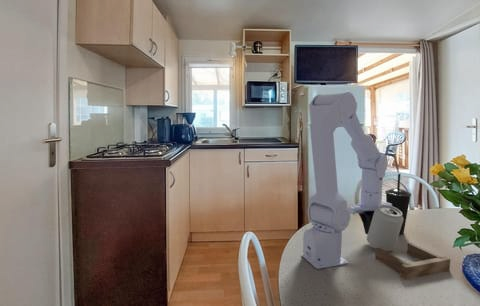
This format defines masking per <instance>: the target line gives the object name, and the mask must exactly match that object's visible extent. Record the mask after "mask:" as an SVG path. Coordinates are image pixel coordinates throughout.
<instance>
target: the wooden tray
mask: <svg viewBox="0 0 480 306" xmlns="http://www.w3.org/2000/svg"><path fill="white" fill-rule="evenodd" d="M406 254H408V255H409V256H410V257H413V258H416V260H417V259H418V261H413V262H409V263H408V262H406V261H404V260H403V259H401V258H399V257H397V256H395V255H393V254H391V253H389V251H388V252H386V251H384V250H382V249H381V248H376V249H375V258H374V259H375V260H377V261H378V262H380V263H382V264H383V265H385V266H387V268H390V269H392V270H393V271H395V272H396V273H398V274H400V276H399V277H400V278H401V279H404V280H406V281H407V280H410V279H417V278H420V277H425V276H430V275H435V274H441V273H444V272H445V273H446V272H449V271H450V269H451V258H449V257H447V256H440V255H439V254H436V253H434V252H431V251H429V250H427V249H425V248H423V247H420V246H418V245H416V244H414V243H412V242H408V243H407V247H406Z"/></svg>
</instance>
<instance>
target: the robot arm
mask: <svg viewBox="0 0 480 306" xmlns="http://www.w3.org/2000/svg"><path fill="white" fill-rule="evenodd" d="M308 107H309V109H308V110H309V118H310V123H309V132H310V141H311V151H312V163H313V173H314V182H315V183H314V184H315V185H314V186H315V192H314V193H313V194H312V195H311V196H309V198H308V207H307V216H308V219H309V220H310V221H311V226H312V227H311V228H308V229H306V230H305V231H304V232H303V240H302V241H303V244H302V253H301V257H303V258H304V259H305V260H306V261H308V262H309V263H310V264H311V265H312V266H313V267H314V268H315V269H318V270H319V269H324V268H326V269H327V268H330V267H337V266H341V265H343V266H344V265H348V264H349V261H348V260H346V259H345V258H343V257H342V241H343V240H342V237H343V235H342V234H343V231H345V230H346V228H348V226H349V224H350V222H351V215H356V214H358V215H359V217H360V219H361V220H360V221H361V222H362V225H363V230H364V233H365V235H368V232H369V228H370V225H371V221H372V218H373V214H374V211H375V209H377V208H378V206H379V205H389V206H392V204H391V203H388V202H386V201H385V202H383V201H382V199H383V196H382V195H383V183H384V182H383V181H384V178H385V176H386V170H387V168H388V164H389V161H388V156H387V155H386V154H385V153H383V152H380V150H379V148H378V146H377V144H376V143H375V141H374V139H373V137H372V135H371V134H369V133H365V132H364V129H363V127H362V124H361V122H360V120H359V117H358V115H357V110H358V109H357V108H358V102H357V101H356V98H355V96H354V94H353V93H352V92H351V91H344V92H338V93H337V92H334V93H327V94H323V93H321V94H320V93H319V94H316V95H314V97H313V98H312V100H311V101H310V102H309V104H308ZM341 126H342V127H343V129H344V130H345V131H346V133H347V134H348V135H349V136H350V138H351V141H350V145H351V147H352V149H353V150H354V151H353V152H354V153H356V155H357V156H356V157H357V165H358V167H359V168H360V169H361V187H360V189H361V191H360V201H359V203H357V204H354V205H351V206H348V204H347V203H348V201H347V200H346V199H345V198H344V196H343V195H342V194H341V193H340V192H339V188H338V177H337V176H338V174H337V165H336V163H337V162H336V152H335V151H336V150H335V138H334V133H335V131H336V129H337V128H339V127H341Z"/></svg>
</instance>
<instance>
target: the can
mask: <svg viewBox="0 0 480 306" xmlns="http://www.w3.org/2000/svg"><path fill="white" fill-rule="evenodd" d="M402 223H403V217H402V212H401V211H400V210H399V209H397V208H395V207H393V206H389V205H379V206H378V208H377V209H375V211H374V214H373V218H372V221H371V225H370V228H369V232H368V235H367V234H366V235H367V236H366V241H367V243H368V244H369V245H370V247H372V249H374V250H376V248H381V249H382V250H384V251H386V252H388V253H389V252H392V251H393V250H395V247H396V245H397V242H398V239H399V236H400V235H399V232H400V229H401V226H402Z"/></svg>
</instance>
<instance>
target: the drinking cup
mask: <svg viewBox="0 0 480 306" xmlns="http://www.w3.org/2000/svg"><path fill="white" fill-rule="evenodd" d="M400 186H401V173H397V187H396V188H390V189H388V190H387V189H386V190H385V196H386V197H385V200H386V201H385V202H388V203H391V204H392V206H393V207H395V208H397V209H399V210H400V211H401V212H402V217H403V223H402V226H401V229H400V232H399V235H398V236H400V235H403V234H404V232H405V228H406V222H407V216H408V212H409V205H410V201H411V196H412V193H411V192H409V191H407V190H405V189H402V188H400Z"/></svg>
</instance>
